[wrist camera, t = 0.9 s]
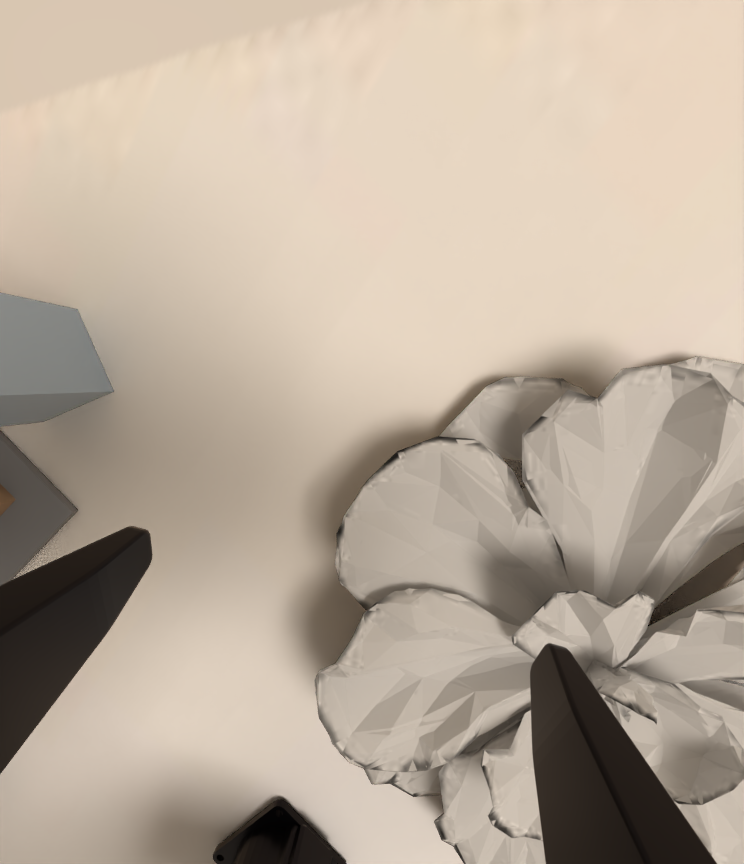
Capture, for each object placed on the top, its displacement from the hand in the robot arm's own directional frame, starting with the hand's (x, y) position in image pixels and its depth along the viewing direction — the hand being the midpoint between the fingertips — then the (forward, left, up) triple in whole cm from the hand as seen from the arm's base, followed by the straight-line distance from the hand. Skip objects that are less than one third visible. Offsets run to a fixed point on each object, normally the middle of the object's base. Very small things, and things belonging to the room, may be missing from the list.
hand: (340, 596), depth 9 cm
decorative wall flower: (+2, -15, -14) cm, 21 cm away
